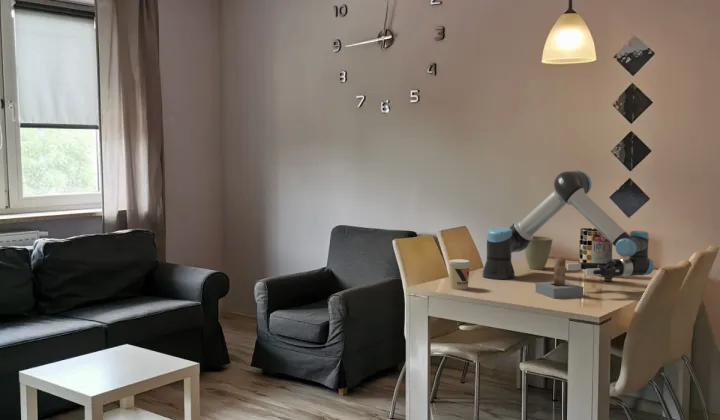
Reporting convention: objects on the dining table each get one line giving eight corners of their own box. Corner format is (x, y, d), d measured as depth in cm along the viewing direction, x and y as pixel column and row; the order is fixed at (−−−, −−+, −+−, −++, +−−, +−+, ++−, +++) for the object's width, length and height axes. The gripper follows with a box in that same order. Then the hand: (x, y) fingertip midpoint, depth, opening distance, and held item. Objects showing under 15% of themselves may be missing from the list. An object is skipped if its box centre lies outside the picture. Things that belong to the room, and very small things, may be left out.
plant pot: (517, 268, 358) (518, 238, 357) (528, 265, 371) (529, 235, 369) (545, 271, 350) (546, 240, 349) (555, 268, 362) (556, 237, 361)
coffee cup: (456, 290, 301) (456, 263, 300) (444, 286, 309) (444, 259, 308) (473, 288, 305) (474, 261, 304) (461, 285, 314) (461, 258, 313)
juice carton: (611, 275, 340) (612, 231, 338) (601, 276, 337) (602, 231, 335) (601, 273, 346) (602, 229, 344) (591, 274, 343) (592, 230, 341)
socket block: (535, 291, 299) (535, 282, 299) (563, 290, 303) (564, 281, 303) (553, 298, 286) (553, 288, 286) (583, 296, 290) (583, 287, 290)
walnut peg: (551, 291, 296) (552, 258, 295) (560, 290, 297) (561, 258, 296) (557, 293, 292) (558, 259, 291) (566, 292, 293) (567, 259, 292)
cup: (617, 283, 320) (618, 266, 320) (600, 282, 322) (601, 265, 321) (615, 280, 328) (615, 263, 327) (598, 279, 329) (599, 262, 329)
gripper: (638, 281, 290) (593, 283, 284) (601, 271, 314) (559, 273, 308) (638, 263, 290) (594, 265, 284) (601, 255, 313) (560, 256, 307)
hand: (576, 269), depth 296 cm, fingers open, 13 cm apart
